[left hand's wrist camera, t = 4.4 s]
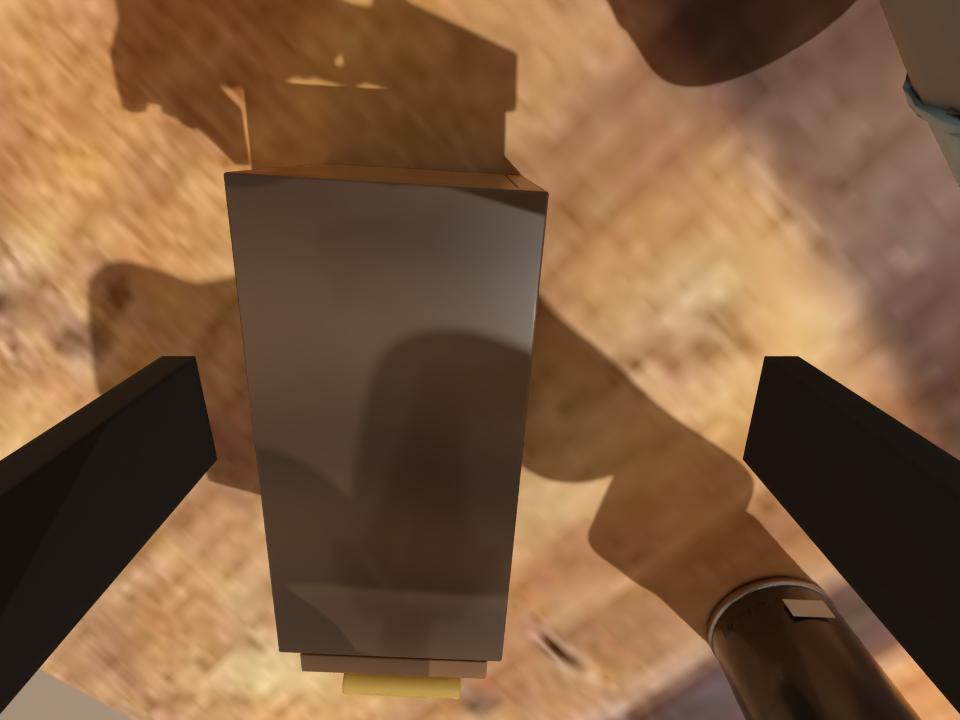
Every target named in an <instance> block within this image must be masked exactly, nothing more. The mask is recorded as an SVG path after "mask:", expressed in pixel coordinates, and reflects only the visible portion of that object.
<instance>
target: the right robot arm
mask: <svg viewBox="0 0 960 720" xmlns="http://www.w3.org/2000/svg"><path fill="white" fill-rule="evenodd" d="M707 638H708V642H709V644H710V647H711V649H712V651H713V653H714V655H715V657H716V658H717V659H718V661H719V663H720V665H721V667H722V669H723V671H724V673H725V676H726V678H727V680H728V682H729V684H730V687H731V689H732V691H733V694H734V696H735V698H736V700H737V702H738V704H739V706H740V709H741V711H742V713H743V715H744V717H745V719H746V720H921V718H920V717H919V716H918V715H917V713H916V712H915V711H914V709H913V708H912V707H911V705H910V704H909V703H908V702H907V700H906V699H905V698H904V696H903V695H902V694H901V693H900V691H899V690H898V689H897V687H896V686H895V685H894V684H893V682H892V681H891V680H890V678H889V677H888V676H887V674H886V673H885V672H884V671H883V669H882V668H881V667H880V665H879V664H878V663H877V662H876V660H875V659H874V658H873V656H872V655H871V654H870V653H869V651H868V650H867V649H866V647H865V646H864V645H863V643H862V642H861V641H860V639H859V638H858V637H857V635H856V634H855V633H854V632H853V630H852V629H851V628H850V626H849V625H848V624H847V622H846V621H845V620H844V619H843V617H842V616H841V615H840V613H839V612H838V611H837V609H836V607H835V605H834V603H833V602H832V601H831V599H830V598H829V597H828V596H827V594H826V593H825V592H824V591H823V590H822V589H820V588H819V587H818V586H816V585H814V584H812V583H810V582H808V581H805V580H801V579H797V578H788V577H777V578H769V579H764V580H760V581H756V582H753V583H750V584H748V585H745V586H743V587H741V588H739V589H738V590H736V591H734V592H733V593H731V594H730V595H729V596H727V597H726V598H725V599H724V600H723V601H722V602H721V603H720V604H719V605H718V606H717V608H716V609H715V610H714V612H713V614H712V615H711V618H710V620H709V623H708V628H707Z"/></svg>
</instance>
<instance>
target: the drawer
mask: <svg viewBox="0 0 960 720" xmlns="http://www.w3.org/2000/svg"><path fill="white" fill-rule="evenodd" d="M300 656H301V666H302V671H312V672H336V673H344V677H343V694H354V695H379V696H404V697H429V698H453V699H459V698H460V688H461V678H482V679H485V678H486V670H487V661H483V660H459V659H436V658H412V657H388V656H364V655H340V654H317V653H301V654H300Z"/></svg>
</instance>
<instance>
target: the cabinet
mask: <svg viewBox="0 0 960 720" xmlns="http://www.w3.org/2000/svg"><path fill="white" fill-rule="evenodd" d="M224 182H225V190H226V199H227V207H228V216H229V225H230V233H231V242H232V250H233V259H234V267H235V276H236V285H237V293H238V302H239V310H240V319H241V328H242V336H243V345H244V353H245V362H246V370H247V379H248V388H249V396H250V405H251V413H252V422H253V431H254V439H255V448H256V456H257V465H258V474H259V482H260V491H261V499H262V508H263V516H264V525H265V534H266V542H267V551H268V559H269V568H270V577H271V585H272V594H273V602H274V611H275V619H276V628H277V637H278V645H279V651H280V652H293V653H317V654H340V655H364V656H388V657H412V658H436V659H459V660H483V661H501V660H502V652H503V642H504V632H505V623H506V613H507V603H508V593H509V583H510V573H511V563H512V553H513V543H514V533H515V524H516V514H517V504H518V494H519V484H520V474H521V464H522V454H523V444H524V434H525V425H526V415H527V405H528V395H529V385H530V375H531V365H532V355H533V345H534V335H535V325H536V316H537V306H538V296H539V286H540V276H541V266H542V256H543V246H544V236H545V226H546V217H547V207H548V197H549V194H548V192H547V191H545V190H544V189H542V188H540V187H539V186H537V185H536V184H534V183H533V182H531V181H529V180H528V179H526V178H525V177H523V176H522V175H509V174H492V173H476V172H459V171H443V170H426V169H410V168H393V167H377V166H360V165H344V164H327V163H323V164H313V165H302V166H290V167H279V168H268V169H257V170H245V171H234V172H226V173H224Z"/></svg>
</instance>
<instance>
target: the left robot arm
mask: <svg viewBox="0 0 960 720" xmlns="http://www.w3.org/2000/svg"><path fill="white" fill-rule="evenodd" d="M879 1H880V4H881V6H882V9H883V11H884V14H885V17H886V19H887V22H888V24H889V27H890V29H891V32H892V35H893V37H894V40H895V42H896V45H897V48H898V50H899V53H900V55H901V58H902V60H903V63H904V66H905V68H906V71H907V75H906V81H905V83H904V85H903V89H904V92H905V95H906V99H907V102H908V104H909V106H910V107H911V108H912V110H913V111H914V112H915V113H916V114H917V115H918V117H920V118H922V119H923V120H925V121H927V122H928V124H929V126H930V128H931V130H932V132H933V134H934V136H935V138H936V140H937V142H938V144H939V146H940V148H941V150H942V152H943V154H944V156H945V158H946V160H947V162H948V164H949V167H950V169H951V171H952V173H953V175H954V177H955V179H956V181H957V183H958V185H959V187H960V0H879ZM216 460H217V456H216V451H215V446H214V442H213V437H212V432H211V428H210V423H209V418H208V414H207V409H206V404H205V400H204V395H203V390H202V386H201V381H200V376H199V372H198V367H197V362H196V358H195V356H162V357H160V358H159V359H157V360H155V361H154V362H152V363H151V364H149V365H148V366H146V367H145V368H143V369H142V370H140V371H138V372H137V373H135V374H134V375H132V376H131V377H129V378H128V379H126V380H125V381H123V382H121V383H120V384H118V385H117V386H115V387H114V388H112V389H111V390H109V391H108V392H106V393H104V394H103V395H101V396H100V397H98V398H97V399H95V400H94V401H92V402H90V403H89V404H87V405H86V406H84V407H83V408H81V409H80V410H78V411H77V412H75V413H73V414H72V415H70V416H69V417H67V418H66V419H64V420H63V421H61V422H60V423H58V424H56V425H55V426H53V427H52V428H50V429H49V430H47V431H46V432H44V433H43V434H41V435H39V436H38V437H36V438H35V439H33V440H32V441H30V442H29V443H27V444H26V445H24V446H22V447H21V448H19V449H18V450H16V451H15V452H13V453H12V454H10V455H8V456H7V457H5V458H4V459H2V460H1V461H0V714H1V712H2V711H3V710H4V709H5V708H6V707H7V705H8V704H9V703H10V702H11V701H12V699H13V698H14V697H15V696H16V695H17V694H18V692H19V691H20V690H21V689H22V688H23V686H24V685H25V684H26V683H27V682H28V681H29V680H30V678H31V677H32V676H33V675H34V674H35V672H36V671H37V670H38V669H39V668H40V667H41V665H42V664H43V663H44V662H45V661H46V660H47V658H48V657H49V656H50V655H51V654H52V653H53V651H54V650H55V649H56V648H57V647H58V645H59V644H60V643H61V642H62V641H63V640H64V638H65V637H66V636H67V635H68V634H69V633H70V631H71V630H72V629H73V628H74V627H75V626H76V624H77V623H78V622H79V621H80V620H81V619H82V617H83V616H84V615H85V614H86V613H87V611H88V610H89V609H90V608H91V607H92V606H93V604H94V603H95V602H96V601H97V600H98V599H99V597H100V596H101V595H102V594H103V593H104V592H105V590H106V589H107V588H108V587H109V586H110V584H111V583H112V582H113V581H114V580H115V579H116V577H117V576H118V575H119V574H120V573H121V572H122V570H123V569H124V568H125V567H126V566H127V565H128V563H129V562H130V561H131V560H132V559H133V557H134V556H135V555H136V554H137V553H138V552H139V550H140V549H141V548H142V547H143V546H144V545H145V543H146V542H147V541H148V540H149V539H150V538H151V536H152V535H153V534H154V533H155V532H156V530H157V529H158V528H159V527H160V526H161V525H162V523H163V522H164V521H165V520H166V519H167V518H168V516H169V515H170V514H171V513H172V512H173V511H174V509H175V508H176V507H177V506H178V505H179V503H180V502H181V501H182V500H183V499H184V498H185V496H186V495H187V494H188V493H189V492H190V491H191V489H192V488H193V487H194V486H195V485H196V484H197V482H198V481H199V480H200V479H201V478H202V476H203V475H204V474H205V473H206V472H207V471H208V469H209V468H210V467H211V466H212V465H213V464H214V462H215V461H216ZM743 460H744V461H745V462H746V464H747V465H748V466H749V467H750V468H751V469H752V471H753V472H754V473H755V474H756V475H757V476H758V478H759V479H760V480H761V481H762V482H763V484H764V485H765V486H766V487H767V488H768V489H769V491H770V492H771V493H772V494H773V495H774V496H775V498H776V499H777V500H778V501H779V502H780V503H781V505H782V506H783V507H784V508H785V509H786V511H787V512H788V513H789V514H790V515H791V516H792V518H793V519H794V520H795V521H796V522H797V523H798V525H799V526H800V527H801V528H802V529H803V530H804V532H805V533H806V534H807V535H808V536H809V538H810V539H811V540H812V541H813V542H814V543H815V545H816V546H817V547H818V548H819V549H820V550H821V552H822V553H823V554H824V555H825V556H826V557H827V559H828V560H829V561H830V562H831V563H832V565H833V566H834V567H835V568H836V569H837V570H838V572H839V573H840V574H841V575H842V576H843V577H844V579H845V580H846V581H847V582H848V583H849V584H850V586H851V587H852V588H853V589H854V590H855V592H856V593H857V594H858V595H859V596H860V597H861V599H862V600H863V601H864V602H865V603H866V604H867V606H868V607H869V608H870V609H871V610H872V611H873V613H874V614H875V615H876V616H877V617H878V619H879V620H880V621H881V622H882V623H883V624H884V626H885V627H886V628H887V629H888V630H889V631H890V633H891V634H892V635H893V636H894V637H895V638H896V640H897V641H898V642H899V643H900V644H901V646H902V647H903V648H904V649H905V650H906V651H907V653H908V654H909V655H910V656H911V657H912V658H913V660H914V661H915V662H916V663H917V664H918V665H919V667H920V668H921V669H922V670H923V671H924V672H925V674H926V675H927V676H928V677H929V678H930V680H931V681H932V682H933V683H934V684H935V685H936V687H937V688H938V689H939V690H940V691H941V692H942V694H943V695H944V696H945V697H946V698H947V699H948V701H949V702H950V703H951V704H952V705H953V707H954V708H955V709H956V710H957V711H958V712H959V714H960V461H959V460H958V459H956V458H955V457H953V456H952V455H950V454H948V453H947V452H945V451H944V450H942V449H941V448H939V447H938V446H936V445H934V444H933V443H931V442H930V441H928V440H927V439H925V438H924V437H922V436H921V435H919V434H917V433H916V432H914V431H913V430H911V429H910V428H908V427H907V426H905V425H904V424H902V423H900V422H899V421H897V420H896V419H894V418H893V417H891V416H890V415H888V414H887V413H885V412H883V411H882V410H880V409H879V408H877V407H876V406H874V405H873V404H871V403H870V402H868V401H866V400H865V399H863V398H862V397H860V396H859V395H857V394H856V393H854V392H852V391H851V390H849V389H848V388H846V387H845V386H843V385H842V384H840V383H839V382H837V381H835V380H834V379H832V378H831V377H829V376H828V375H826V374H825V373H823V372H822V371H820V370H818V369H817V368H815V367H814V366H812V365H811V364H809V363H808V362H806V361H805V360H803V359H801V358H800V357H798V356H765V358H764V362H763V367H762V372H761V376H760V381H759V386H758V390H757V395H756V400H755V404H754V409H753V414H752V418H751V423H750V428H749V432H748V437H747V442H746V446H745V451H744V456H743Z"/></svg>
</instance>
